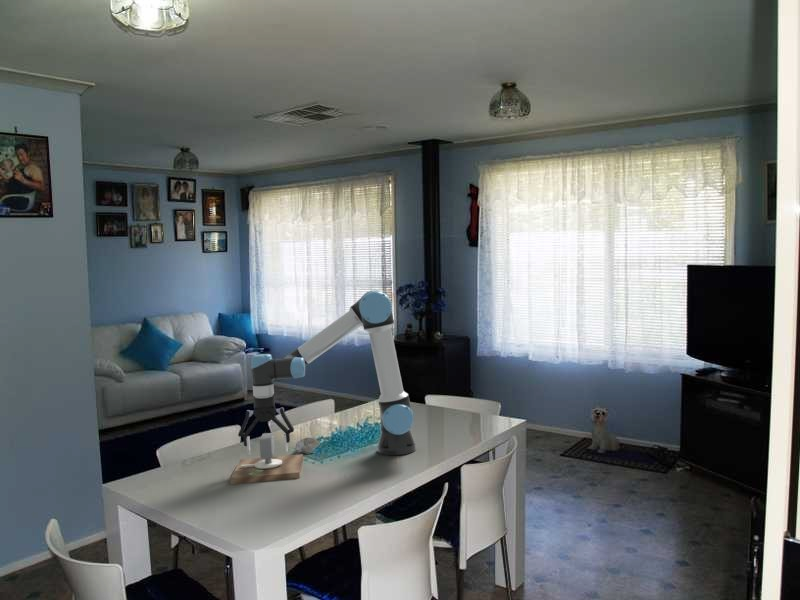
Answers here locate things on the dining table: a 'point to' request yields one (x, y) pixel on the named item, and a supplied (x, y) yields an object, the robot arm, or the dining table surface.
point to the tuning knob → (266, 453)
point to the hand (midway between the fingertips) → (267, 453)
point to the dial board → (268, 470)
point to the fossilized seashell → (306, 446)
